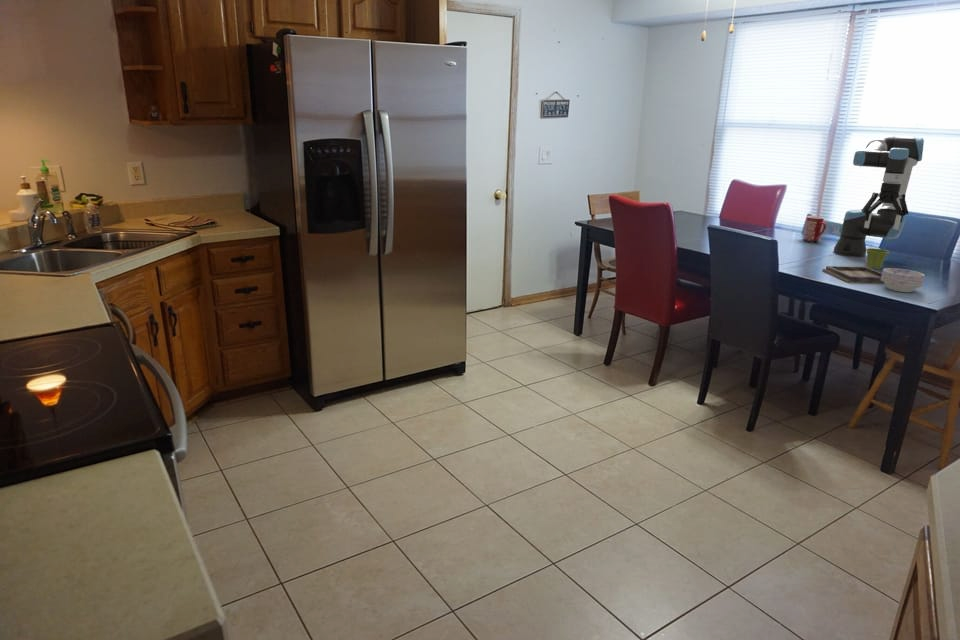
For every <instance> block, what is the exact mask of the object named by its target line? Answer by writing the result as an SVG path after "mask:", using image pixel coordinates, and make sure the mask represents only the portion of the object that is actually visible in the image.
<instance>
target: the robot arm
mask: <svg viewBox="0 0 960 640" xmlns="http://www.w3.org/2000/svg"><path fill="white" fill-rule="evenodd" d="M924 144H925V140H924V138H922V137H919V136H901V135H900V136H899V135H886V136H885V135H884V136H880V137H877V138H874V139H871V140H870V141H869V142H868V143H867V145H866V146H865V149H857V150H855V153H854V155H853V160H852V161H853V162H852V164H853V166H856V167H869V168H870V167H871V168H880V169H881V168H883V169H885V171H884V173H883V174H884V175H883V178H882V183H881V187H880V192H874V191H873V192H872V194H871V197H870V198H869V200H868V201H867V202H866V203H865V205H864V206H863V207H862V209H850V210H847V211H846V212H845V214H844V217H843V219H842V220H843V222H842V226H841V231H840V236H839V239H838V240H837V242H836V243H835V245H834V248H833V251H832V252H833V253H834V254H837V255H840V256H846V257H852V258H853V257H855V258H856V257H857V258H859V257H861V258H863V257H867V250H866V249H867V247H866V246H867V244H866V238H867V237H873V238H881V239H883V238H884V239H892V240H895V239H897V238H899V236H900V234H901V233H902V231H903V229H904V225H905V223H906V220H907V217H906V215H909V211H908V210H909V209H908V206H907V201H906V193H907V189H908V187H909V183H910V179H911V175H912V172H913V171H912V170H913V168H914V167H915V166H917V165H918V162H921V161H922V160H923V152H924ZM877 198H878V199H877ZM881 205H882V206H881ZM879 206H881V207H880V208H879V209H878V210H877V211H876V213H874V211H875V210H876V209H877V208H878V207H879Z"/></svg>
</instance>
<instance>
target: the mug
mask: <svg viewBox="0 0 960 640" xmlns="http://www.w3.org/2000/svg"><path fill="white" fill-rule="evenodd" d="M824 220H825V217H821V216H817V215H815V216H814V215H809V216H806V222H805V233H804V237H803V238H804V239H805V240H804V241H806V240H807V242H813V241H816V242H819V239H820V237H821V236H822V235H823V234H824V233H825V231H826V229H827V223H826V222H825V221H824Z"/></svg>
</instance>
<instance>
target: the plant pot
mask: <svg viewBox="0 0 960 640" xmlns="http://www.w3.org/2000/svg"><path fill="white" fill-rule="evenodd" d="M889 253H890V252H889V250H886V249H880V248H869V247H868V248H866V266H865V267H869V268H871V269H873V270H880V269H882V267H883V265H884V261H885V259H886V257H887V255H888V254H889Z"/></svg>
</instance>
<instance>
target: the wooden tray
mask: <svg viewBox="0 0 960 640" xmlns="http://www.w3.org/2000/svg"><path fill="white" fill-rule="evenodd" d="M821 271H822V272H823V273H826V274H828V275H830V276H832V277H835V278H837V279H839V280H841V281H843V282H845V283H849V282H855V284H856V282H860V283H859V284H885V283H884V282H883V281H881V276H882V272H880V271H878V270H877V269H872V268H869V267H866V266H853V265H852V266H850V265H848V266H847V265H845V266H844V265H826V266H825V268H822V270H821Z"/></svg>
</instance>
